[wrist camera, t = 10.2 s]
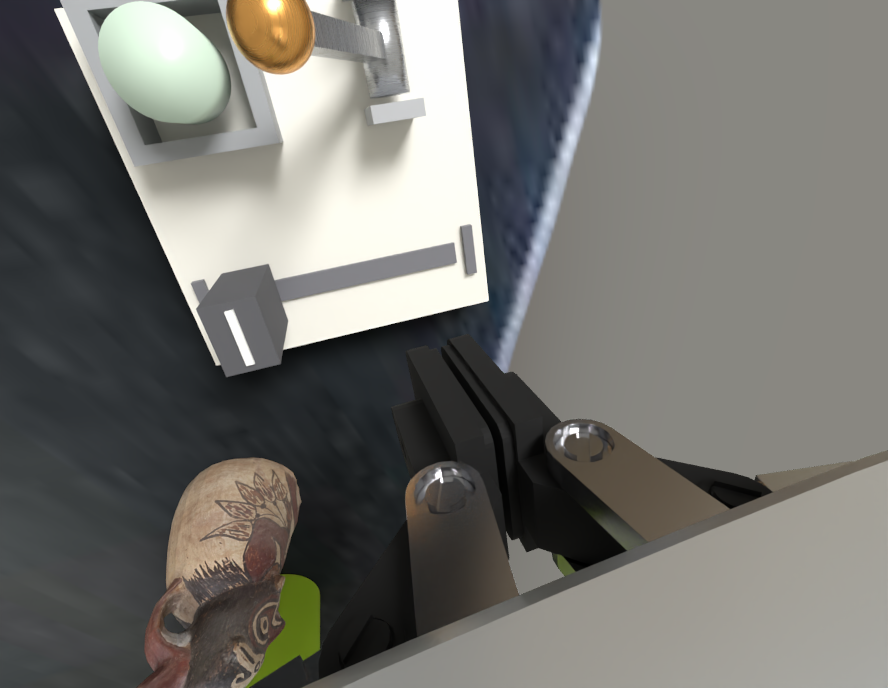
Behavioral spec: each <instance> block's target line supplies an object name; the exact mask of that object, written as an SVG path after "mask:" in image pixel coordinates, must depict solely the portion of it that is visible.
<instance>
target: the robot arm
mask: <svg viewBox="0 0 888 688" xmlns="http://www.w3.org/2000/svg"><path fill="white" fill-rule="evenodd" d="M441 352H442V356H441V355H440V353H439V352H438V350H437V349H432V350H430V349H429V348H428V346H427V345H426V346H422V347H418V348H415V349H411V350H407V351H406V357H407V362H408V367H409V372H410V376H411V381H412V385H413V390H414V395H415V399H416V400H413V401H410V402H407V403H403V404H400V405H396V406H393V407H391V409H392V414H393V418H394V422H395V426H396V430H397V434H398V438H399V441H400V445H401V449H402V452H403V456H404V459H405V462H406V465H407V468H408V471H409V474H410V477H411V480H410V482H409V484H408V486H407V488H406V495H405V501H406V513H407V520H406V521H405V523H404V524H403V526H402V527H401V528H400V530H399V531H398V533H397V534H396V536H395V537H394V539H393V540H392V541H391V543H390V544H389V546H388V547H387V549H386V550H385V552H384V553H383V555H382V556H381V557H380V559H379V560H378V562H377V563H376V565H375V566H374V568H373V569H372V570H371V572H370V573H369V575H368V576H367V578H366V579H365V581H364V582H363V584H362V585H361V586H360V588H359V589H358V591H357V592H356V594H355V595H354V597H353V598H352V599H351V601H350V602H349V604H348V605H347V607H346V608H345V610H344V611H343V613H342V614H341V615H340V617H339V618H338V620H337V621H336V623H335V624H334V626H333V627H332V628H331V630H330V632H329V634H328V636H327V638H326V639H325V641H324V643H323V645H322V649H320V650H319V651H317V652H316V653H314V654H313V655H311V656H310V657H308V658H307V659H305V660H304V661H303V660H302V658H301V656H300V655H299V656H297V657H295V658H294V659H292V660H291V661H289V662H288V663H286V664H285V665H283V666H281V667H280V668H278V669H277V670H275V671H274V672H272V673H271V674H269V675H267V676H266V677H264V678H263V679H261V680H260V681H258V682H257V683H255V684H254V685H252V686H250V687H249V688H888V450H886V451H883V452H880V453H877V454H873V455H870V456H867V457H864V458H861V459H859V460H856V461H849V462H841V463H835V464H828V465H821V466H814V467H808V468H802V469H795V470H787V471H781V472H774V473H768V474H760V475H756V477H755V481H754V480H752V479H750V478H748V477H745V476H741V475H738V474H734V473H730V472H725V471H720V470H715V469H710V468H705V467H700V466H695V465H691V464H685V463H681V462H676V461H671V460H666V459H661V458H656V457H654V456H652V455H651V454H649V453H648V452H646V451H645V450H644V449H642V448H641V447H639V446H638V445H636V444H635V443H633V442H632V441H631V440H629V439H628V438H626V437H625V436H623V435H622V434H620V433H619V432H617V431H616V430H615V429H613V428H612V427H610V426H608V425H606V424H604V423H602V422H598V421H595V420H591V419H570V420H566V421H563V422H561V421H560V420H559V419H558V418H557V417H556V416H555V415H554V414H553V412H551V410H550V409H549V408H548V407H547V406H546V405H545V404H544V403H543V402H542V401H541V400H540V399H539V398H538V397H537V396H536V395H535V394H534V393H533V391H532V390H531V389H530V388H529V387H528V386H527V385H526V384H525V383H524V382H523V381H522V380H521V379H520V378H519V377H518V376H517V374H515V373H514V372H508V373H505V374H504V373H503V372H502V371H501V370H500V369H499V367H498V366H497V365H496V364H495V363H494V362H493V361H492V360H491V358H490V357H489V356H488V355H487V354H486V353H485V352H484V351H483V350H482V348H481V347H480V346H479V345H478V344H477V343H476V342H475V341H474V339H473V338H472V337H471V336H470V335H469V334H466V335H463V336H459V337H455V338H452V339H448V340H447V346H443V347H441ZM506 532H507V533H508V535H509V537H510V538H511V540H515V539H517V538H519V539H520V541H521V543H522V545H523V546H524V548H525V550H526V552H529V551H531V550H534V549H536V548H540V549H543V550H546V551H549V552H551V553H552V557H553V560H554V562H555V564H556V565H557V567H558V569H559V570H560V571H561V572H562V573H563V574H564V576H565V577H562V578H560V579H558V580H555V581H552V582H550V583H548V584H545V585H543V586H540V587H538V588H536V589H533V590H531V591H528V592H526V593H523V594H521V595H519V593H518V589H517V586H516V583H515V580H514V577H513V573H512V570H511V567H510V564H509V554H508V545H507V536H506Z"/></svg>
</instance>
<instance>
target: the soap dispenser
mask: <svg viewBox="0 0 888 688" xmlns="http://www.w3.org/2000/svg"><path fill="white" fill-rule="evenodd" d="M280 575H283V576H284V577H285V582H284V585H283V588H282V590H281V593H280V604H279V608H278V612H279V614H280V616H281V617H282V618H283V619H284V621H285V627H284V629H283V630H282V631H281V633H280V634H279V635H278V636H277V638H276V639H275V640H274V641H273V642H272V643H271V644H270V645H269V646H268V648H267V650H266V653H265V658H264V662H263V664H262V666H261V667H260V669H259V671H258V673H257V674H256V675H255V676H254V678H253V679H252V680H251V681H250V683H249V684H248V685H247V686H246V687H245V688H249V687H250V686H252V685H254V684H255V683H257V682H258V681H260V680H261V679H263V678H264V677H266V676H267V675H269V674H271V673H272V672H274V671H275V670H277V669H278V668H280V667H281V666H283V665H285V664H286V663H288V662H289V661H291V660H292V659H294V658H295V657H297V656H299V655H300V656H301V658H302V660H303V661H304V660H305V659H307V658H308V657H310V656H311V655H313V654H314V653H316V652H317V651H319V650H320V591H319V589H318V587H317V585H316V584H315V583H314V582H313V581H311V580H310V579H308V578H306V577H303V576H300V575H295V574H280Z"/></svg>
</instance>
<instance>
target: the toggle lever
mask: <svg viewBox="0 0 888 688" xmlns="http://www.w3.org/2000/svg"><path fill="white" fill-rule="evenodd" d="M351 4H352V10H353V15H354V20H355V24H353V23H350V22H347V21H343V20H340V19H337V18H333V17H330V16H327V15H324V14H320V13H317V12H314V11H310V8H309V6H308V4H307V2H306V0H227V3H226V20H227V26H228V29H229V32H230V35H231V37H232V40H233V42H234V44H235V45H236V47H237V49H238V50H239V51H240V53H241V54H242V55H243V56H244V57H245V58H246V59H247V60H248V61H249V62H250V63H251V64H253V65H254V66H255V67H257V68H258V69H260V70H262V71H265V72H267V73H271V74H276V75H284V74H290V73H293V72H295V71H297V70H299V69H300V68H301V67H303V66H304V65H305V64H306V62H307V61H308V60H309V58H310V56H318V57H325V58H332V59H340V60H347V61H354V62H361V63H363V66H364V71H365V76H366V81H367V86H368V91H369V96H370V99H376V98H384V97H391V96H397V95H402V94H406V93H410V86H409V80H408V74H407V67H406V61H405V54H404V48H403V42H402V35H401V29H400V23H399V16H398V10H397V3H396V0H353V1H352V2H351Z"/></svg>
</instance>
